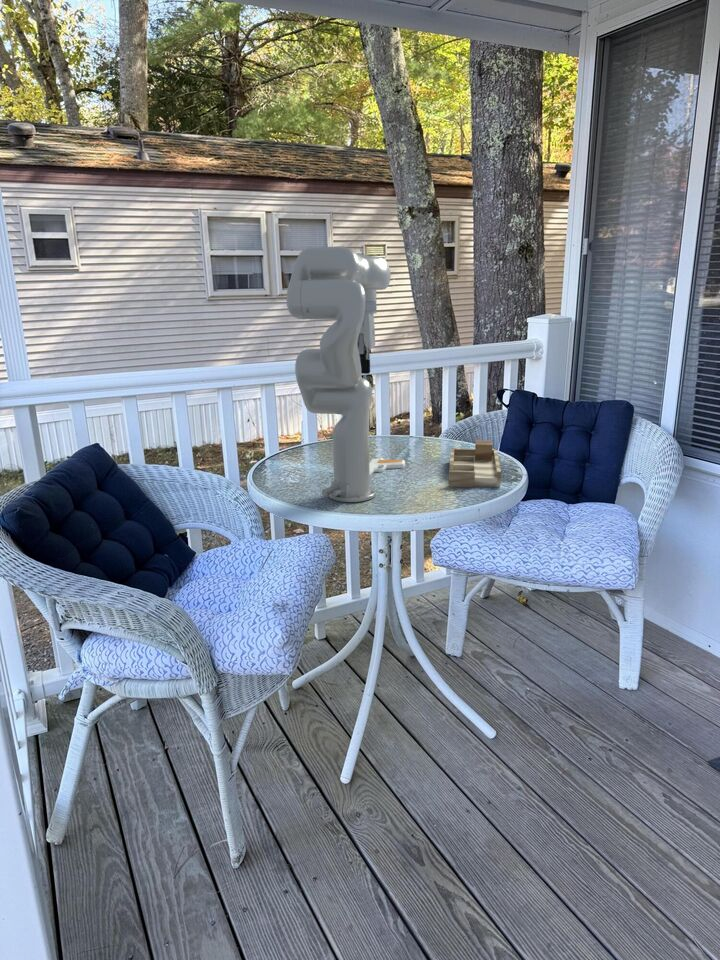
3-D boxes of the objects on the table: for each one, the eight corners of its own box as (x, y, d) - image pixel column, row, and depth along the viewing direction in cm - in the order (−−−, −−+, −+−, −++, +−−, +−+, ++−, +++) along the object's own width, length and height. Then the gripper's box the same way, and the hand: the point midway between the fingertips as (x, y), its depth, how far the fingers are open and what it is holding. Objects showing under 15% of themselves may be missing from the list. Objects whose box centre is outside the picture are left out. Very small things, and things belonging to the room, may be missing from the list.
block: (491, 460, 192) (492, 444, 190) (475, 460, 192) (475, 444, 191) (491, 456, 196) (492, 440, 195) (474, 456, 197) (475, 440, 196)
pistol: (391, 484, 181) (353, 481, 185) (407, 465, 200) (373, 463, 203) (391, 475, 181) (353, 473, 184) (408, 457, 199) (373, 455, 202)
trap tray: (500, 488, 174) (501, 473, 173) (448, 486, 176) (449, 471, 175) (496, 462, 198) (496, 449, 197) (450, 461, 201) (451, 448, 199)
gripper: (372, 309, 173) (373, 376, 179) (379, 307, 188) (380, 370, 193) (345, 309, 175) (347, 376, 180) (354, 307, 189) (355, 370, 194)
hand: (364, 373), depth 186 cm, fingers closed
